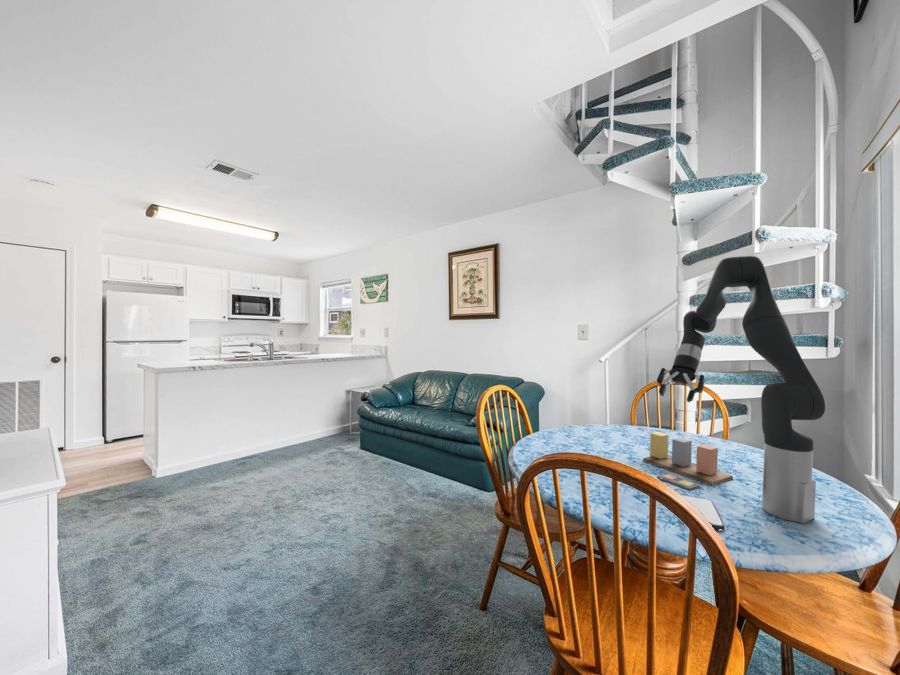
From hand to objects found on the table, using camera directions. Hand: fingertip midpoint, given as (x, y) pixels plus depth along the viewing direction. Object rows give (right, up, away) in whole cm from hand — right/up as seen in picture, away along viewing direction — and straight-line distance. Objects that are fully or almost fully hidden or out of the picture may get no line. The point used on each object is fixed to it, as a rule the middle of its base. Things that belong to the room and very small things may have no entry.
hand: (674, 398), depth 135 cm
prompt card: (-11, -22, -20) cm, 32 cm away
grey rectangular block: (-2, -21, -8) cm, 22 cm away
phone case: (-17, -24, -38) cm, 48 cm away
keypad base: (-2, -22, -9) cm, 24 cm away
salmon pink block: (+1, -21, -15) cm, 26 cm away
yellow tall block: (-6, -20, -1) cm, 21 cm away
